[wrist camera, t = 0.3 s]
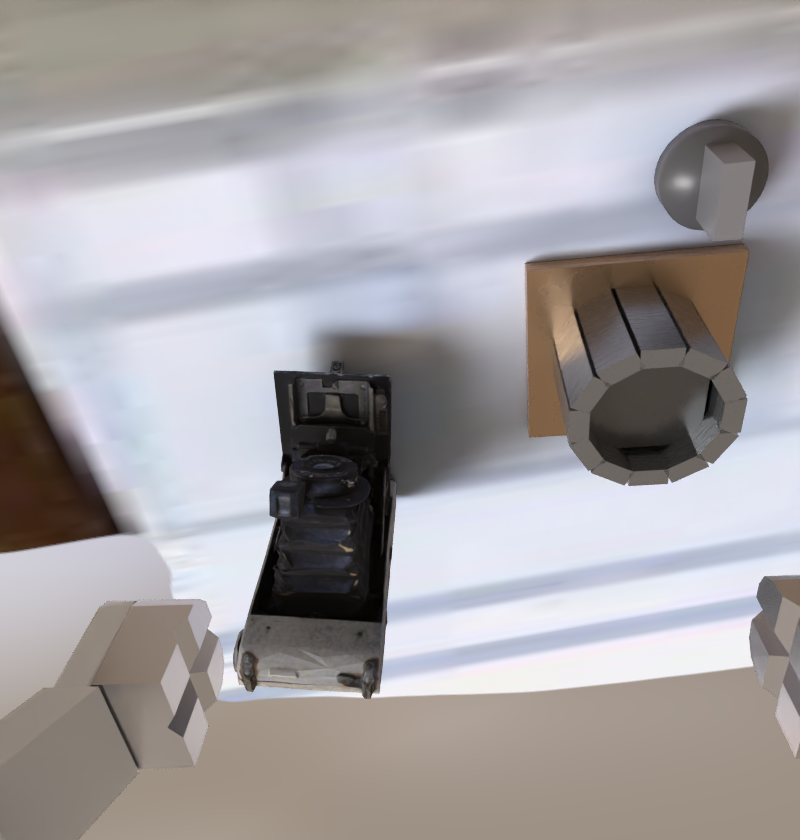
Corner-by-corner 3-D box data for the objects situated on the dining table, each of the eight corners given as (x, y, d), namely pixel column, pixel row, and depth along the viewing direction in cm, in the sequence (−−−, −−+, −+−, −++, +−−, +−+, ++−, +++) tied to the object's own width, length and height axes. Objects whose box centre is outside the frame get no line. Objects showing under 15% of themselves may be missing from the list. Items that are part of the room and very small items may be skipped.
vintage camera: (405, 348, 53) (380, 538, 37) (400, 505, 62) (380, 713, 45) (275, 342, 53) (195, 526, 37) (290, 498, 62) (230, 702, 46)
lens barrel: (525, 263, 48) (539, 332, 40) (742, 243, 46) (799, 311, 39) (527, 427, 56) (540, 509, 49) (712, 415, 54) (754, 498, 47)
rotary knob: (658, 125, 42) (683, 153, 38) (764, 113, 42) (802, 140, 37) (650, 222, 46) (671, 258, 41) (747, 213, 45) (779, 248, 41)
